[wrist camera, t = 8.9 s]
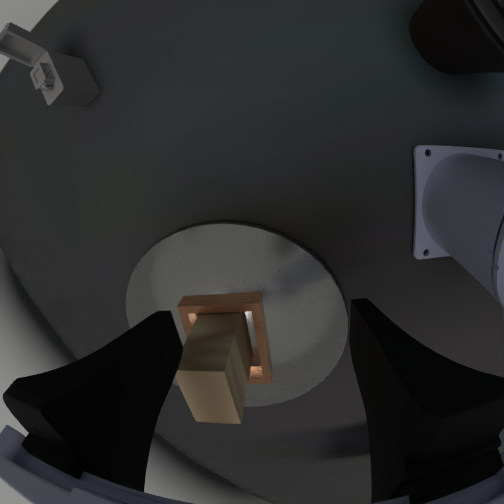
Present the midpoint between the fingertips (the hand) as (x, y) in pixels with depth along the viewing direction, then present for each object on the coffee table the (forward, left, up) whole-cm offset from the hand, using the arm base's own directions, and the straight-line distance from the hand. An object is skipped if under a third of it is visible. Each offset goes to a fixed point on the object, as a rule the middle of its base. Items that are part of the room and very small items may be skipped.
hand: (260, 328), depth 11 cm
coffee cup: (-14, -14, -10) cm, 22 cm away
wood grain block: (+4, +6, -8) cm, 11 cm away
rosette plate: (+4, +7, -9) cm, 12 cm away
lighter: (+13, -16, -10) cm, 23 cm away
